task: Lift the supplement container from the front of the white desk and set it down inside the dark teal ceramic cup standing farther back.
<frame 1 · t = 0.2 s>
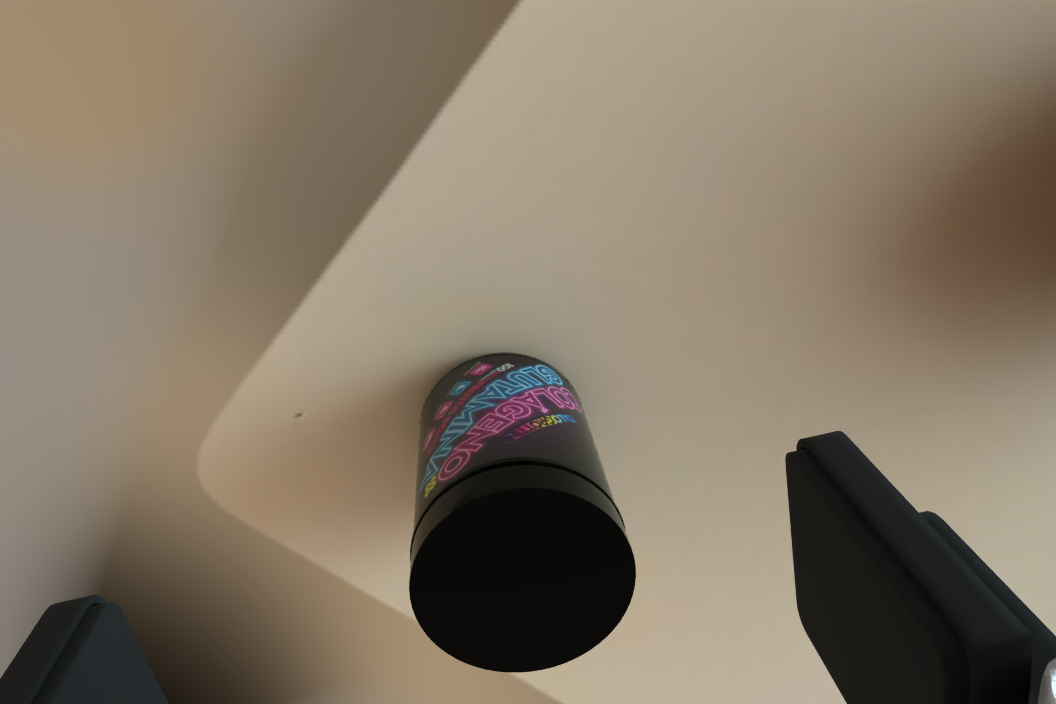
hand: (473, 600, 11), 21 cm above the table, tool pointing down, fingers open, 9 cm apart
supplement container: (501, 418, 34), on the table
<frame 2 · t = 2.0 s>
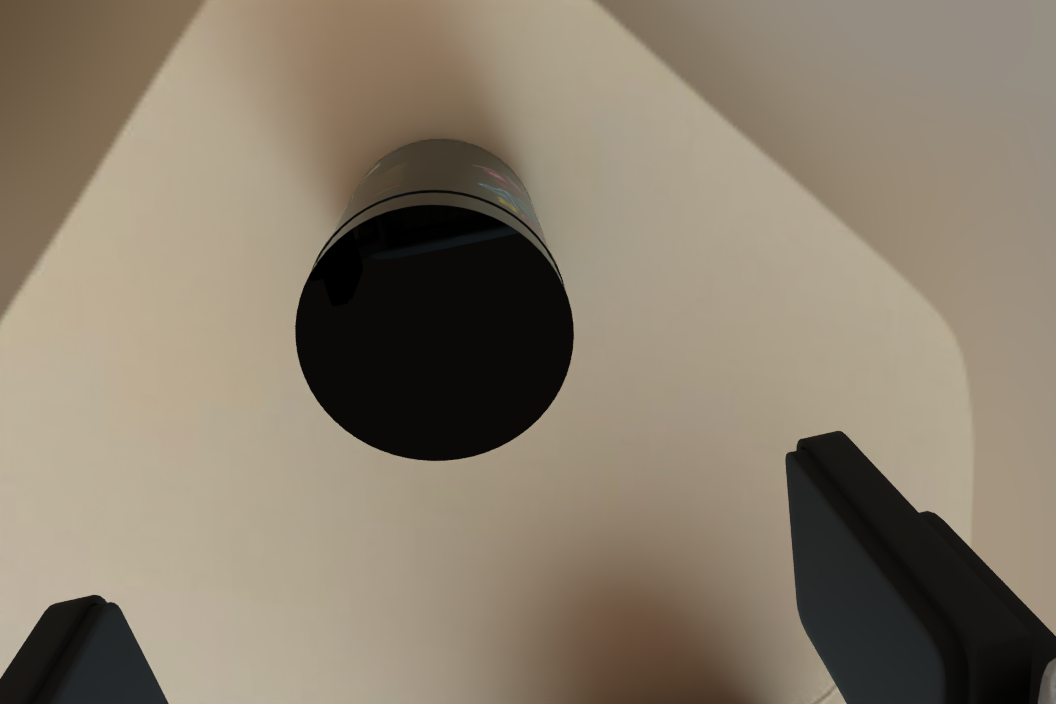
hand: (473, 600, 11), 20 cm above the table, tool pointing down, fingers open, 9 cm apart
supplement container: (443, 228, 30), on the table
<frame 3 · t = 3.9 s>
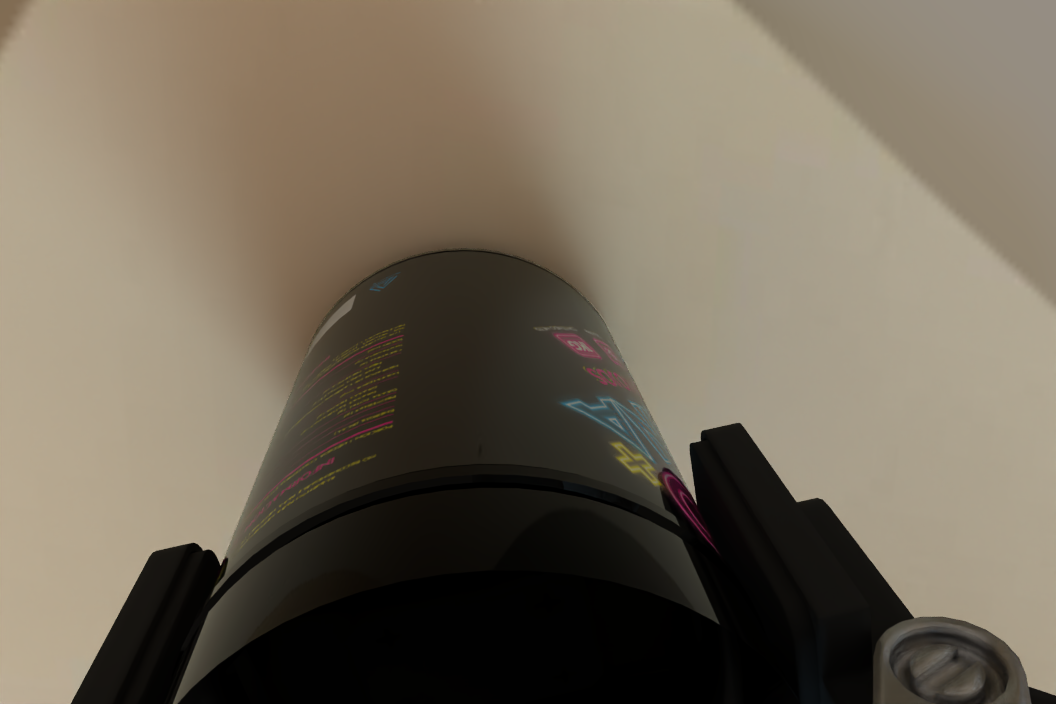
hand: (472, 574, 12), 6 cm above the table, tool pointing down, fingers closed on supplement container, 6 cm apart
supplement container: (464, 386, 18), on the table, touching gripper
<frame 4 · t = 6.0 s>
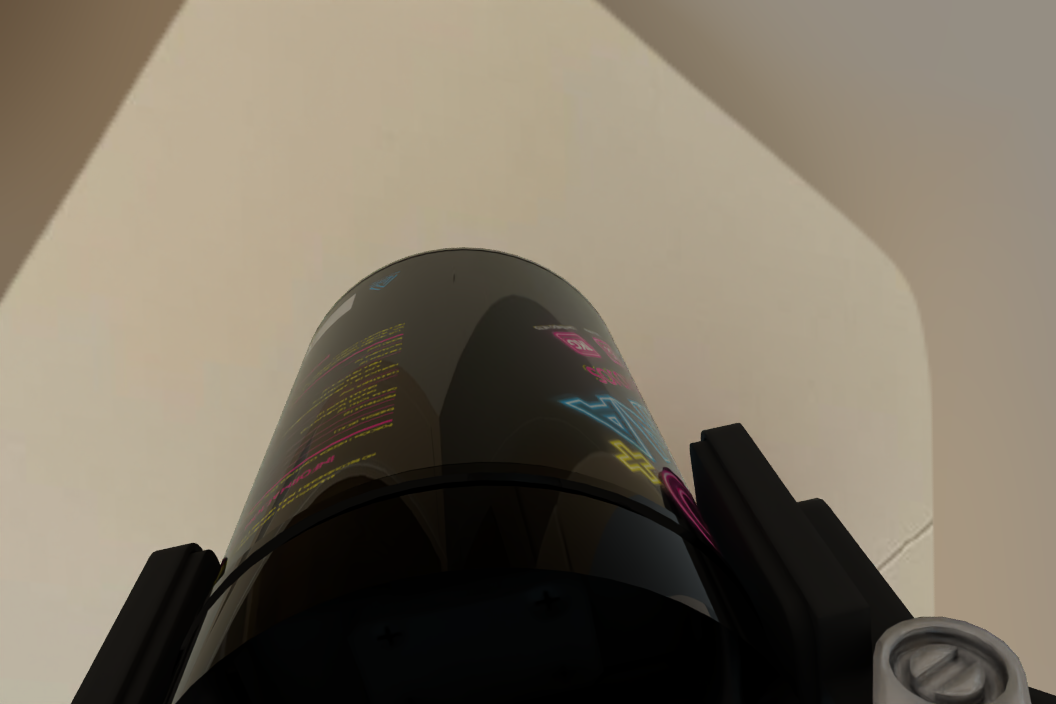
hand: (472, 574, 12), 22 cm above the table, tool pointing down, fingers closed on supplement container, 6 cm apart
supplement container: (463, 385, 18), point 16 cm above the table, touching gripper
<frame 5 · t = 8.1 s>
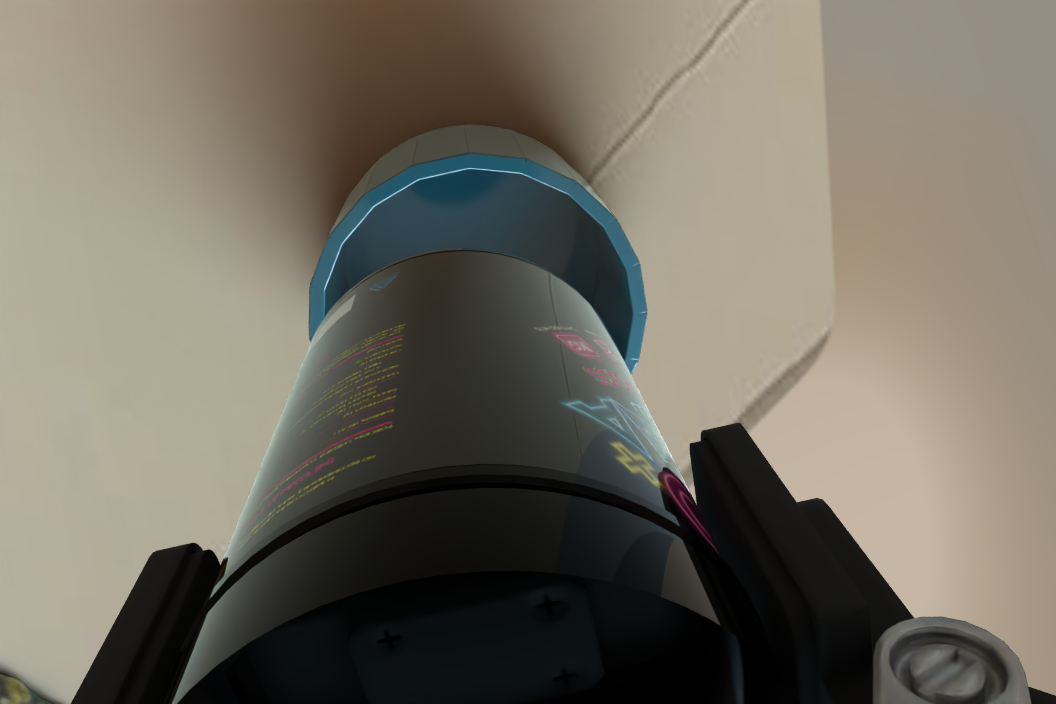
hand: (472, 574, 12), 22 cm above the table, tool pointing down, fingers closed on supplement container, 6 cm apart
cup: (473, 263, 33), on the table
supplement container: (463, 386, 18), point 16 cm above the table, touching gripper
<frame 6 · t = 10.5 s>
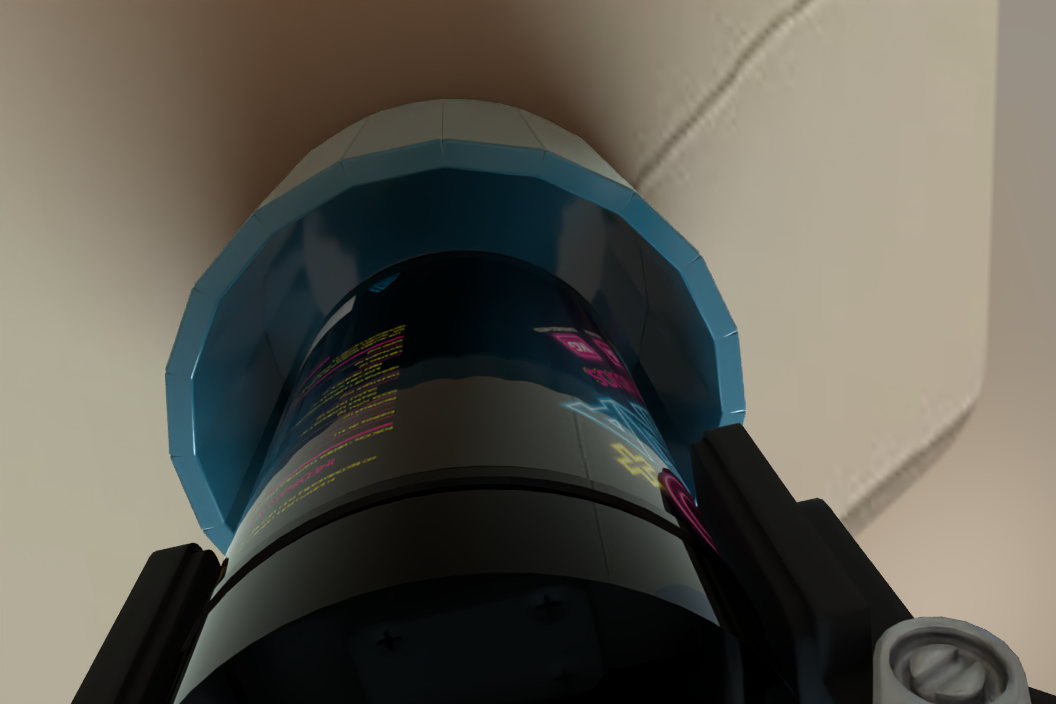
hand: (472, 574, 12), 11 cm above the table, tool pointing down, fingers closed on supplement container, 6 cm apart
cup: (459, 309, 22), on the table
supplement container: (464, 387, 18), point 5 cm above the table, touching gripper
when the fingers open (7 cm above the table, at t = 12.3 s): supplement container stays where it is, resting on cup.
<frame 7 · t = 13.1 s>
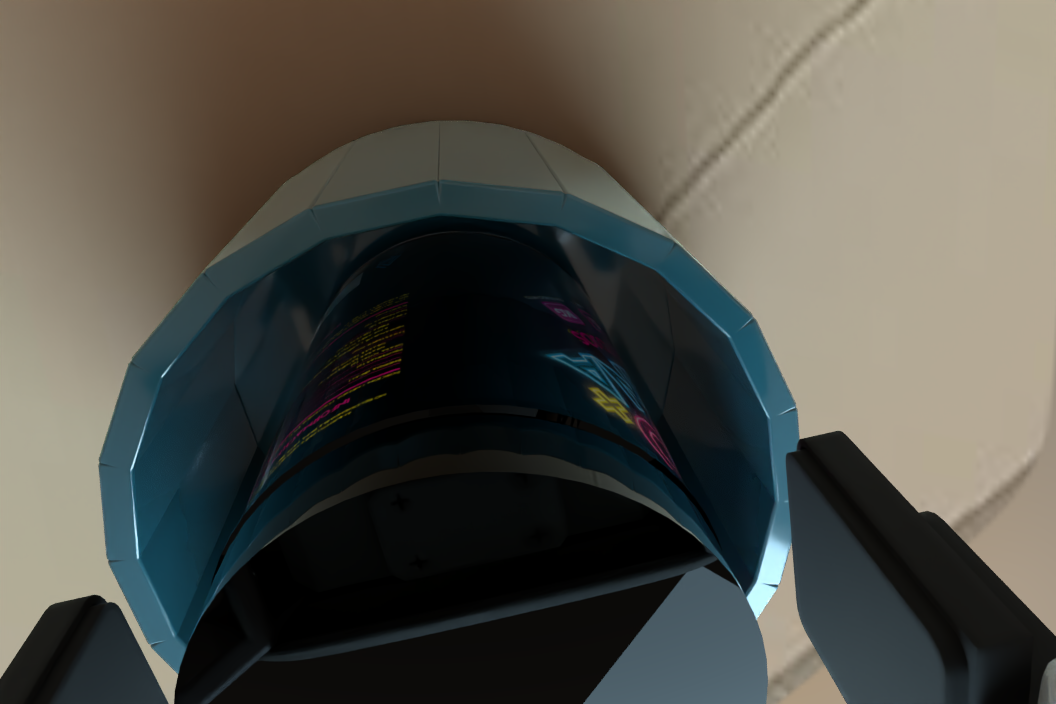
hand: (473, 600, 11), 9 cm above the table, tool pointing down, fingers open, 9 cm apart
cup: (458, 358, 19), on the table
supplement container: (461, 360, 19), resting on cup
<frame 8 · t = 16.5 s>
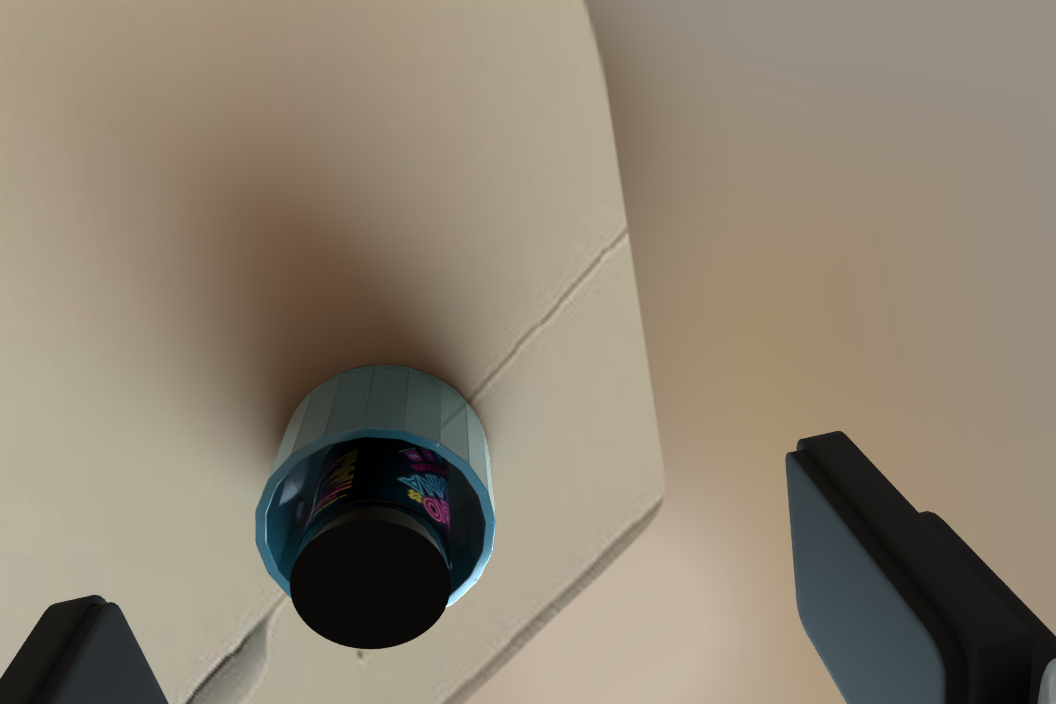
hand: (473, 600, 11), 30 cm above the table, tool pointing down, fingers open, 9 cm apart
cup: (386, 457, 45), on the table
supplement container: (387, 459, 44), resting on cup
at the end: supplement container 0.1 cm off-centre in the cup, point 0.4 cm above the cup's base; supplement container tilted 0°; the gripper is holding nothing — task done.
